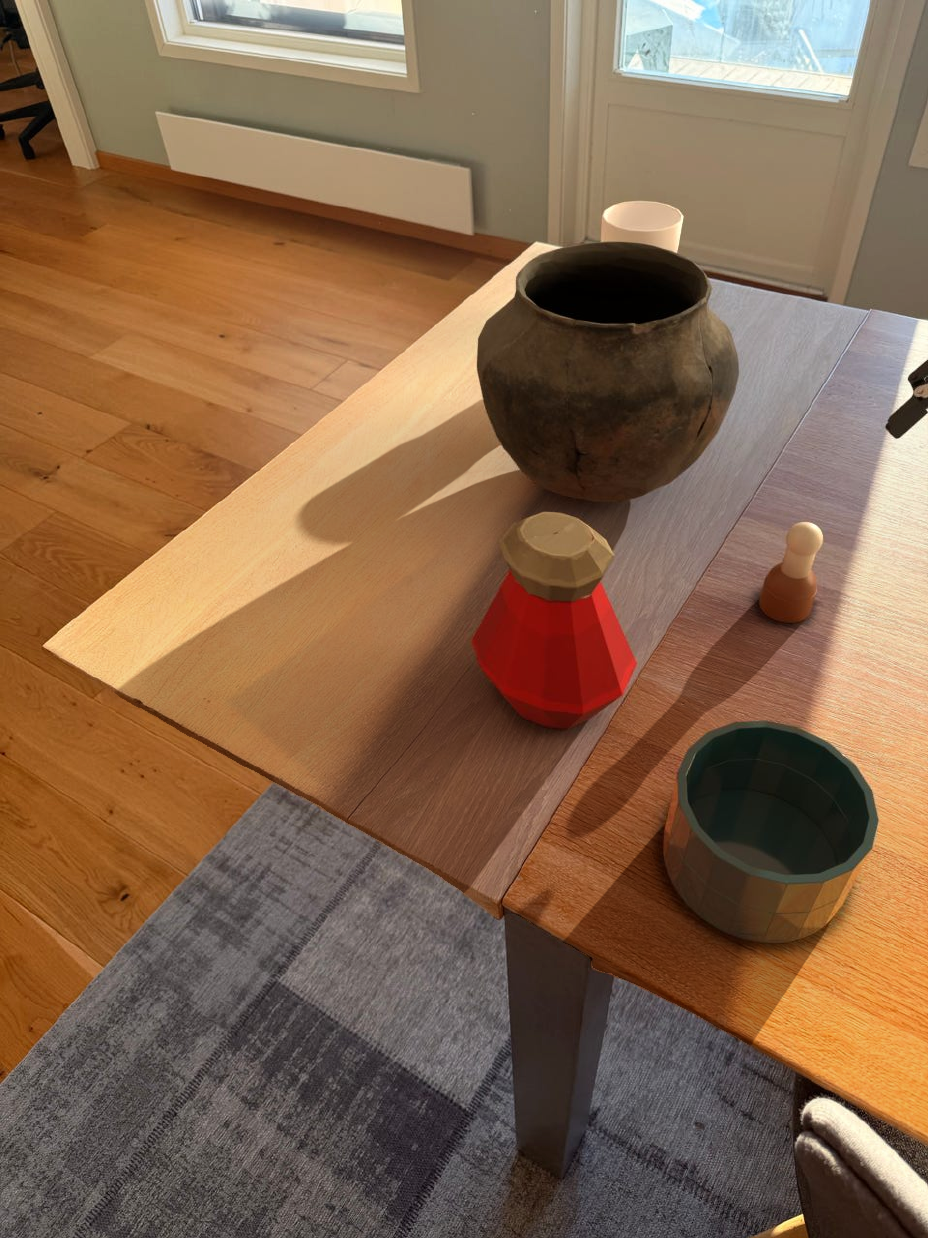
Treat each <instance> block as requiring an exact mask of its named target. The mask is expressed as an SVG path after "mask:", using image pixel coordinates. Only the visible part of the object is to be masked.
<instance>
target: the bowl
mask: <svg viewBox="0 0 928 1238" xmlns="http://www.w3.org/2000/svg"><path fill="white" fill-rule="evenodd" d="M675 777H676V778H675V781H674V788H673V790H672V795H671V799H670V804H669V808H668V813H667V818H666V822H665V826H664V831H663V843H662V844H663V845H662V847H663V860H664V865H665V869H666V872H667V875H668V877H669V879H670V881H671V885H672V886H673V887H674V889H675V891H676V892H677V894H678V896H679V897H680V898H681V899H682V900H683V902H684V903H685V904H686V905H687V907H689V908H690V909H691V910H692V911H693V912H694V914H696V915H698V916H699V917H700V918H701V919H702V920H703V921H705V922H706V923H708V924H709V925H711V926H712V927H714V928H716V929H718V930H720V931H721V932H723V933H725V934H728V935H731V936H733V937H736V938H737V939H742V940H744V941H745V940H746V941H750V942H755V943H762V944H783V943H791V942H795V941H799V940H802V939H804V938H807V937H809V936H811V935H814V934H815V933H817V932H818V931H820V930H821V929H823V928H824V927H825V926H826V925H827V924H828V923H830V922H831V920H832V919H833V918H834V917H835V915H836V913H838V911H839V910H840V909H841V908H842V906H843V905H844V903H845V901H846V899H847V897H848V895H849V894H850V891H851V890H852V887H853V885H854V884H855V882H856V880H857V879H858V877H859V875H860V872H861V871H862V869H863V867H864V865H865V864H866V861H867V860H868V857H869V855H870V853H871V852H872V851H873V848H874V845H875V840H876V836H877V832H878V829H879V824H880V818H879V813H878V809H877V804H876V799H875V795H874V792H873V789H872V788H871V786H870V785H869V783H868V782H867V780H866V779H865V777H864V776H863V774H862V772H861V771H860V769H859V767H858V766H857V765H856V764H855V763H854V762H853V761H852V760H851V759H850V758H849V757H847V756H846V755H845V754H844V753H843V752H842V751H840V750H839V749H838V748H837V747H836V746H835V745H833V744H832V743H831V742H829V741H827V740H825V739H823V738H821V737H819V736H817V735H815V734H814V733H811V732H809V731H807V730H805V729H804V728H800V727H799V726H795V725H789V724H785V723H780V722H775V721H771V720H749V721H747V720H746V721H745V720H744V721H735V722H731V723H729V724H725V725H723V726H720V727H717V728H715V729H712V730H708V731H707V732H706V733H705V734H703V735H702V736H701V737H700V738H699V739H698V740H697V741H696V742H694V743H693V744H692V745H691V746H690V747H689V748H688V749H687V750H686V752H685V755H684V757H683V759H682V762H681V763H680V765H679V768H678V771H677V773H676V776H675Z"/></svg>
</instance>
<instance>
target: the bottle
mask: <svg viewBox="0 0 928 1238" xmlns="http://www.w3.org/2000/svg"><path fill="white" fill-rule="evenodd" d="M498 545H499V548H500V550H501V553H502V555H503V558H504V561H505V562H506V564H507V566H508V568H509V571H508V572H507V574H506V576H505V577H504V579H503V581H502V583H501V585H500V587H499V589H498V591H497V593H496V594H495V596H494V597H493V600H492V602H491V604H490V605H489V607H488V609H487V611H486V612H485V614H484V616H483V618H482V620H481V622H480V623H479V626H478V627H477V629H476V631H475V633H474V635H473V636H472V638H471V640H470V641H471V645H472V649H473V650H474V653H475V657H476V661H477V664H478V666H479V669H480V670H481V671H482V672H483V674H484V675H485V677H487V678H488V679H489V681H490V682H491V684H492V685H493V686H494V687H495V688H496V689H497V691H498V692H499V694H501V695H502V697H503V698H504V700H506V702H507V703H508V704H509V705H510V706H511V707H512V708H513V710H514V711H515V712H517V714H518V715H519V716H520V717H521V718H522V719H524V720H526V721H528V722H531V723H534V724H536V725H538V726H540V727H543V728H546V729H556V730H565V731H568V730H570V729H572V728H574V727H576V726H578V725H581V724H583V723H584V722H588V721H589V720H591V719H592V718H594V717H595V716H597V714H599V713H601V711H603V710H605V709H606V708H607V707H609V706H610V705H612V704H613V703H614V702H615V701H616V700H617V701H618V699H620V698H621V697H622V696H624V693H625V691H626V689H627V687H628V684H629V683H630V680H631V678H632V676H633V674H634V672H635V669H636V667H637V665H638V662H637V659H636V658H635V655H634V653H633V651H632V648H631V646H630V644H629V642H628V639H627V636H626V635H625V633H624V630H623V628H622V626H621V624H620V622H619V619H618V617H617V614H616V613H615V610H614V608H613V606H612V604H611V602H610V599H609V597H608V595H607V593H606V589H605V588H604V586H603V584H602V580H603V578H604V577H605V575H606V573H607V571H608V570H609V568H610V566H611V564H612V563H613V560H614V559H615V554H614V552H613V550H612V548H611V547H610V544H609V543H608V540H607V539H606V538H604V537H603V536H602V535H601V534H600V533H598V532H597V531H596V530H595V529H593V528H592V527H591V526H589V525H588V524H587V523H585V522H584V521H582V520H581V519H580V518H578V517H575V516H571V515H570V514H566V513H563V512H555V511H541V512H539V513H537V514H533V515H531V516H529V517H526V518H523V519H521V520H520V521H516V522H514V523H512V524H510V525H509V526H508V528H507V529H506V531H505V532H504V534H503V535H502V537H501V538H500V540H499V541H498Z"/></svg>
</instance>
